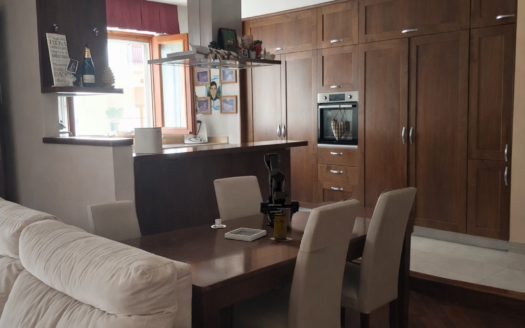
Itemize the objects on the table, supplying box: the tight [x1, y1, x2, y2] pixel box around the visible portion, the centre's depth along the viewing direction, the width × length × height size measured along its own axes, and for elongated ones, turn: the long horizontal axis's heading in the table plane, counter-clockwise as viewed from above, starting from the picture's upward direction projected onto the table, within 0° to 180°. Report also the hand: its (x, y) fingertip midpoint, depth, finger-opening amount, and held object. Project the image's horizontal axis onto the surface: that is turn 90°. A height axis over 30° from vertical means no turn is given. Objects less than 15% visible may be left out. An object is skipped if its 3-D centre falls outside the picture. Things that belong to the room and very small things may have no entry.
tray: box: [224, 227, 267, 242], centre depth 246 cm, size 14×14×2 cm
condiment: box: [269, 212, 293, 242], centre depth 239 cm, size 7×8×12 cm
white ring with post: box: [210, 218, 227, 229], centre depth 270 cm, size 9×8×4 cm
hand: (281, 221), depth 239 cm, fingers open, 9 cm apart
